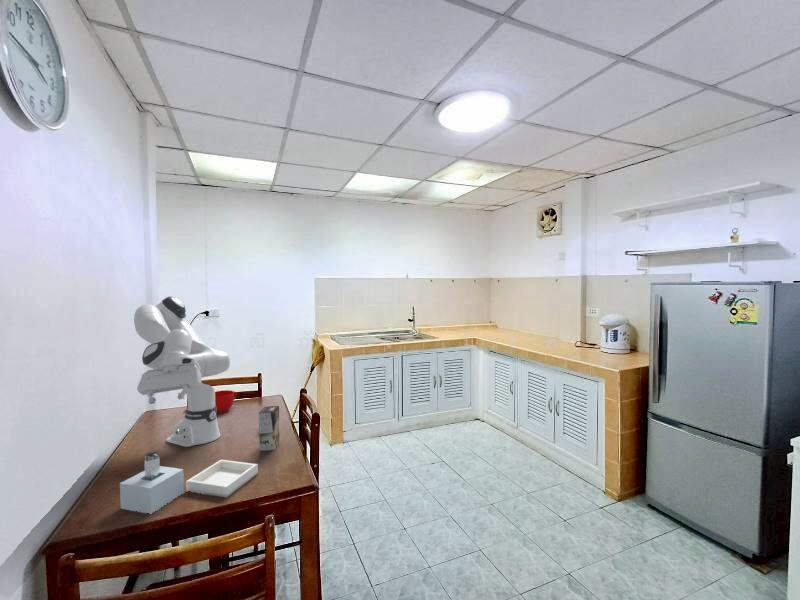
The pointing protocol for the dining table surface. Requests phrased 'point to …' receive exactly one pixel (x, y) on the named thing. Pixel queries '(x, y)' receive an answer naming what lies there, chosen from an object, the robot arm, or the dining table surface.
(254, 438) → the dining table surface
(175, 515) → the dining table surface
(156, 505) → the socket block
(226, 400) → the ceramic cup
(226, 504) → the dining table surface
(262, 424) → the coffee box
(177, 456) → the dining table surface
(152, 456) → the steel pin
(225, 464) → the tray
